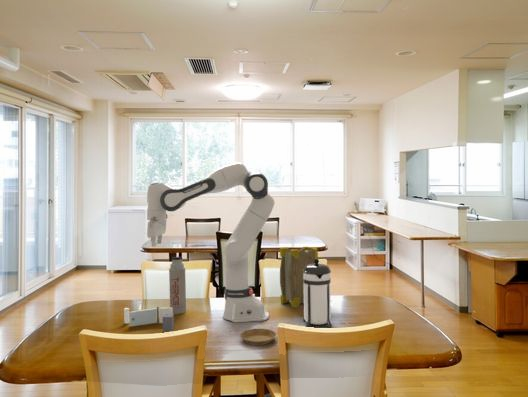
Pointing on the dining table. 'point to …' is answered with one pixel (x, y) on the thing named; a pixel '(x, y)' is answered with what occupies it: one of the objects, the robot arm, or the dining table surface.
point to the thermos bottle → (177, 286)
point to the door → (143, 317)
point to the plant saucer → (258, 336)
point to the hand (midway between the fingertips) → (156, 245)
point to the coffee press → (317, 294)
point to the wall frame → (160, 311)
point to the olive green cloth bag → (294, 273)
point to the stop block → (168, 322)
